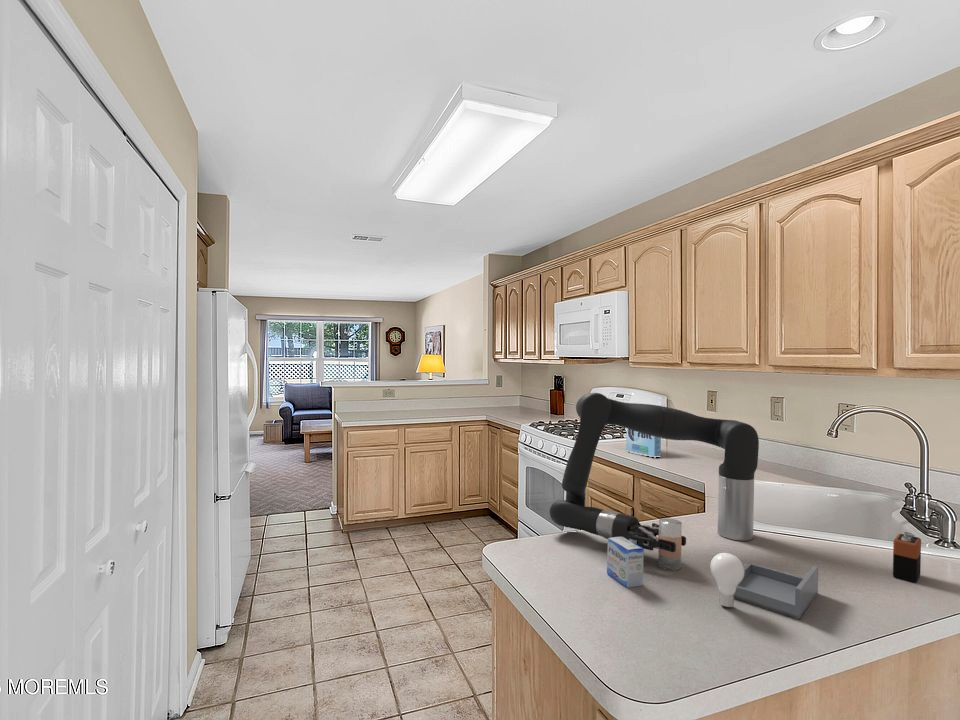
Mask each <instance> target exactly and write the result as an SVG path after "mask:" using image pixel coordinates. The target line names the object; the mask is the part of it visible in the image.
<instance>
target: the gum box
mask: <svg viewBox="0 0 960 720" xmlns="http://www.w3.org/2000/svg"><path fill="white" fill-rule="evenodd" d="M661 447H662V438H660V437H655V436H651V435H647V434H643V433H640V432H637V431H634V430H631V429H628V428H626V449H625V451H626V450H629V451H633V452H637V453H642V454H647V455H651V456H660V455H661V454H662V451H661V450H662V449H661ZM661 456H662V455H661Z"/></svg>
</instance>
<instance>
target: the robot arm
mask: <svg viewBox="0 0 960 720" xmlns="http://www.w3.org/2000/svg"><path fill="white" fill-rule="evenodd" d="M575 410H576V413H577V415H578V417H579V427H578V432H577V436H576V439H575V441H574V442H575V443H574V445H573V448H572V449H571V452H570V454H569V457H568V459H567V462H566V465H565V469H564V473H563V478H562V479H561V480H562V482H561V488H562V490H564V492H565V500H564V499H560V500H559V499H558V500H556V501H554V502H553V503H552V504H551V505H550V507H549V515H550V518H551V520H552V522H554V524H555V525H558V526H561V527H563V528H569V529H575V530H581V531H584V532H587V533H589V534H592V535H595V536H600V537H602V538H604V539H606V540H608V538H613V537H624V538H625V539H627V540H629V541H631V542H633V543H634V544H636V545H638V546H640V547H642V548H643V549H644V550H648V551H654V549H655V550H658V549H659V548H660V549H663V550H667V551H670V552H675V551H676V544H675V543H674V542H671V541H667V540H664V539H659V523H655V522H652V523H651V525H648V524H641V522H640V521H639V519H638V517H637V516H633V515H629V514H625V513H623V512H618V511H614V510H607V509H602V508H599V507H595V506H586V488H587V485H588V481H589V478H590V473H591V469H592V465H593V461H594V457H595V453H596V451H597V447H598V444H599V441H600V438H601V436H602V433H603V431H604V429H605V426H606V425H609V426H610V425H611V426H617V427H621V428H625V429H627V428H628V429H631V430H634V431H637V432H640V433H643V434H647V435H651V436H655V437H660V438H661V439H666V440H672V441H694V442H695V441H696V442H702V443H705V444H709V445H713V446H716V447H719V448H721V449H723V450H724V458H723V462H722V463H721V464H720V465H719V466H718V494H717V496H718V497H717V498H718V499H717V534H718V535H719V536H721V537H724V538H726V539H730V540H734V541H735V540H736V541H745V542H747V541H751V540H753V538H754V513H755V512H754V509H755V508H754V507H755V505H754V504H755V473H756V471H757V468H758V463H759V462H758V461H759V449H760V446H759V445H760V441H759V434H758V431H757V430H756V428H755V427H754V426H752V425H750V424H748V423H745V422H742V421H739V420H736V419H735V420H732V419H723V418H722V419H721V418H713V417H711V418H710V417H704V416H699V415H696V414H693V413H690V412H688V411H684V410H681V409H677V408H672V407H669V406H663V405H656V404H650V403H635V402H633V403H632V402H625V401H624V402H623V401H619V400H616V399H615V400H614V399H611V398H608V397H607V396H606V395H604V394H602V393H600V392H588V393H586V394H583V395H582V396H581V397H579V399H577V402H576V404H575ZM686 545H687V537H686V536H684V535H682V545H681V547H682V546H683V547H684V546H686Z"/></svg>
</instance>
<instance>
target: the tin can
mask: <svg viewBox="0 0 960 720" xmlns="http://www.w3.org/2000/svg"><path fill="white" fill-rule="evenodd" d="M658 525H659V539H664V540H667V541H671V542H674V543H675V544H676V551H675V552H670V551H667V550H663V549H660V548H659V549H657V550H658V551H657V552H658V559H657V560H658V564H659V565H658V566H659V567H660V568H661V567H662V568H661V569H663V568H664V570H666V569H668V570H667V571H672V570H676V571H679V569H680V568H681V569H682V536H683V535H682V530H683V528H682V527H683V526H682V521H680V520H678V519H675V518H670V517H669V518H668V517H667V518H666V517H665V518H664V517H663V518H660V519H659V520H658ZM681 569H680V570H681Z"/></svg>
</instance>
